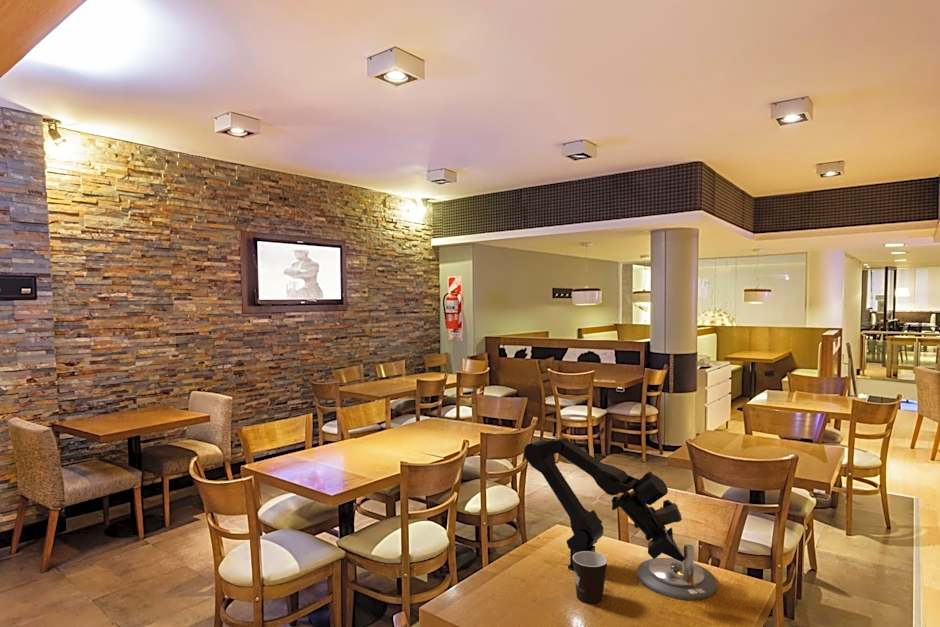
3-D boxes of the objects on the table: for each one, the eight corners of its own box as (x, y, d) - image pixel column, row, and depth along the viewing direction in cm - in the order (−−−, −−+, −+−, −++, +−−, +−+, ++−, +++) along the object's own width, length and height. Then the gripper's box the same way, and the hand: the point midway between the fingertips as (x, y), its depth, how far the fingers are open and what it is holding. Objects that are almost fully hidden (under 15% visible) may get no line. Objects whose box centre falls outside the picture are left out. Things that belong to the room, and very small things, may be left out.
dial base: (628, 585, 149) (628, 579, 149) (649, 556, 165) (649, 551, 165) (708, 608, 138) (708, 601, 138) (722, 575, 154) (722, 568, 154)
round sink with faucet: (640, 563, 157) (640, 527, 157) (686, 560, 160) (686, 524, 159) (669, 593, 141) (669, 553, 141) (719, 588, 144) (720, 549, 144)
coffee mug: (607, 608, 137) (607, 568, 137) (571, 604, 139) (572, 564, 139) (605, 585, 149) (606, 547, 149) (572, 581, 151) (573, 544, 150)
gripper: (662, 506, 138) (710, 557, 135) (662, 483, 156) (704, 527, 152) (629, 533, 141) (675, 584, 137) (632, 507, 158) (673, 552, 155)
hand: (683, 560), depth 145 cm, fingers closed, pressing on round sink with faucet
